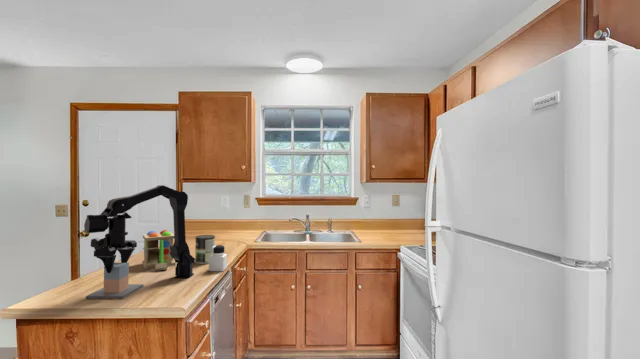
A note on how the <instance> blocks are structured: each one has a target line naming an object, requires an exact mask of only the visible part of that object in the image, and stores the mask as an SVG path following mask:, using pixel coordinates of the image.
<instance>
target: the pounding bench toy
mask: <svg viewBox="0 0 640 359" xmlns="http://www.w3.org/2000/svg"><path fill="white" fill-rule="evenodd" d="M142 238H143V241H144V242H143V260H142V265H143V268H144V269H145V270H151V269H155V271H156V272H158V271H166V270H168V267H174V266H177V263H176V262H175V260H174V259H173V258H172V257H171V255H170V246H173V244H174V232H171V231H168V230H166V229H164V230H162V231H161V230H160V232H156V231H154V230H150V231H148V232H147V233H143V234H142Z"/></svg>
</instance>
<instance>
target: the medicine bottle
mask: <svg viewBox="0 0 640 359" xmlns="http://www.w3.org/2000/svg"><path fill="white" fill-rule="evenodd" d="M212 254H213V255H211V256H210V257H209V263H208V271H209V272H224V271H225V270H226V269H227V268H228V254H227V253H225V246H224V245H222V244H218V245H215V246H213V247H212Z"/></svg>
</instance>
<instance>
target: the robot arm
mask: <svg viewBox="0 0 640 359" xmlns="http://www.w3.org/2000/svg"><path fill="white" fill-rule="evenodd" d="M159 196H162V197H164V199H168V200H169V204H170V207H171V210H172V213H173V231H174V232H173V234H174V239H173V246H170V255H171V257H172V258H173V260H174V261H175V262H176V265H175V269H174V271H175V276H174V279H189V278H191V277H192V276H193V275H194V272H193V266H194V265H193V264H195V257H194V256H192V254H191V252H190V247H189V245H188V243H187V241H186V238H187V237H186V217H185V210H186V208H187V206H188V201H189V195H188V193H186V192H185V191H181V190H179V191H178V190H175V189H173V188H170V187H169V186H166V185H165V184H163V185H161V184H160V185H157V186H155V187H152V188H150V189H146V190H144V191H140V192H138V193H136V194H133V195H130V196H129V195H128V196H124V197H123V196H121V197H117V198H116V197H115V198H112V199H110V200H109V201H107V204H106V207H105V208H104V209H103V211H102V212H101V213H100V214H87V215H86V219H85V220H84V221H85V222H84V224H83V225H84V226H83V227H84V233H86V234H94V233H95V234H96V233H104V232H106V230H108V231H107V232H108V233H105V235H104V237H103V238H98V237H96V238H92V239H90V247H91V248H93V249H94V250H93V257H94V258H95V257H96V259H99V260H101V262H102V263H103V266H105V268H106V271H107V273H111V271H112V268H113V265H114V263H115V261H116V258H117V255H116V254H117V252H118V253H119V254H120V263H129V262H128V261H129V260H130V258H131V256H132V254H133V252H134V251H135V250H136V248H137V247H138V243H137V241H136V240H135V239H134V240H130V239H129V240H128V239H126V236H128V234H129V232H128V231H126V223H127V222H126V221H127V220H126V219H132V215H130V214H129V213H128V211H130V210H131V209H133V207H135V206H137V205H139V204H142V203H144V202H147V201H149V200H152V199H154V198H157V197H159Z"/></svg>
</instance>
